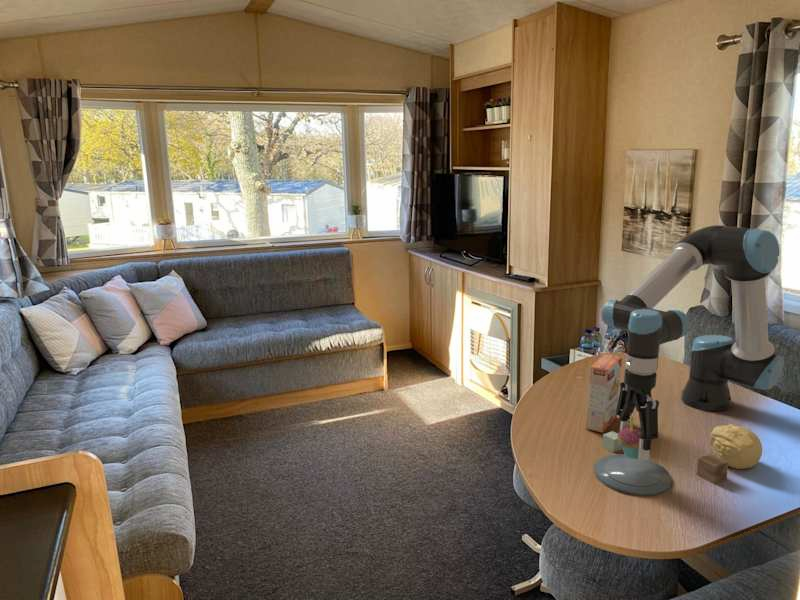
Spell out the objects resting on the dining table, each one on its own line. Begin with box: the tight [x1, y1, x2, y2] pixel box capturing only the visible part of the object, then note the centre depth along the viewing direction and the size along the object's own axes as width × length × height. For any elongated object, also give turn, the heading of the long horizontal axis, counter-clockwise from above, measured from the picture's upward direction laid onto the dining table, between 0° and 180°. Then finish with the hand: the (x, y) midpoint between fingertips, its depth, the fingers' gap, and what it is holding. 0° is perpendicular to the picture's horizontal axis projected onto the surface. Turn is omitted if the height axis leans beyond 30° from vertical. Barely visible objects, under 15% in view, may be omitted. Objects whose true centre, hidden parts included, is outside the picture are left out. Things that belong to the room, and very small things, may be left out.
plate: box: [593, 453, 672, 497], centre depth 159 cm, size 19×19×1 cm
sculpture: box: [709, 423, 763, 470], centre depth 163 cm, size 12×12×11 cm
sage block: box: [601, 431, 623, 453], centre depth 173 cm, size 4×4×4 cm
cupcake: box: [617, 413, 653, 459], centre depth 156 cm, size 9×8×12 cm
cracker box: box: [585, 353, 623, 434], centre depth 186 cm, size 14×6×21 cm, turn 144°
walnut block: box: [696, 453, 729, 484], centre depth 157 cm, size 5×5×5 cm
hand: (633, 451), depth 157 cm, fingers closed on cupcake, 8 cm apart
